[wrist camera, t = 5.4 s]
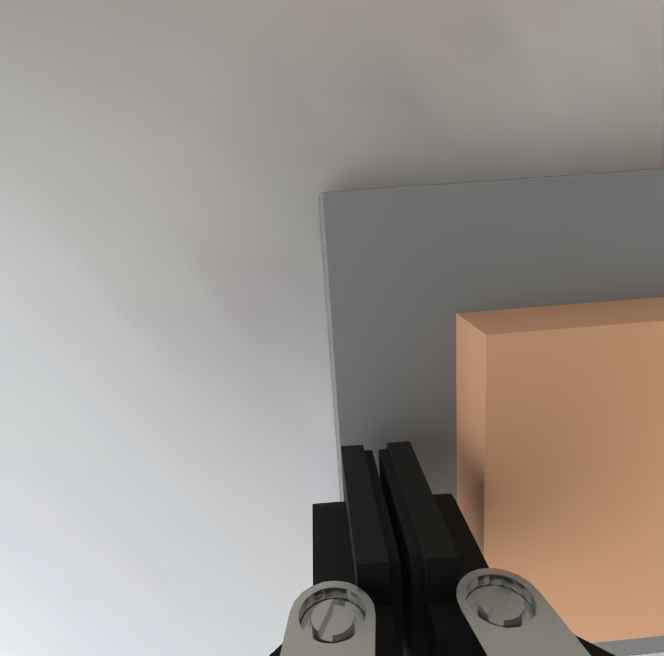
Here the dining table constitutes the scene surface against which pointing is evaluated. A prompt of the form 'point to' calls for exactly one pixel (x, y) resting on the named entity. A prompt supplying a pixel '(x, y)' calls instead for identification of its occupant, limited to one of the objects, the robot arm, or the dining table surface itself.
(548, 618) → the robot arm
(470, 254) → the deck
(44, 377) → the dining table surface
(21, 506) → the dining table surface
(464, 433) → the tile
